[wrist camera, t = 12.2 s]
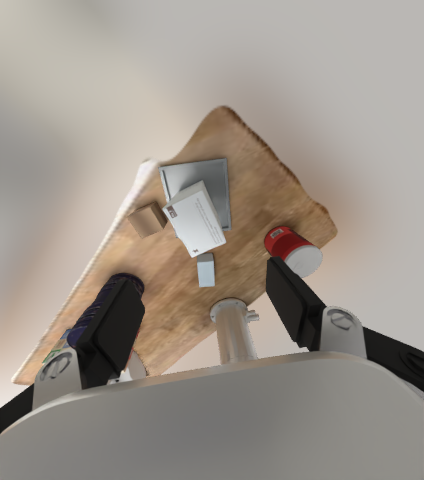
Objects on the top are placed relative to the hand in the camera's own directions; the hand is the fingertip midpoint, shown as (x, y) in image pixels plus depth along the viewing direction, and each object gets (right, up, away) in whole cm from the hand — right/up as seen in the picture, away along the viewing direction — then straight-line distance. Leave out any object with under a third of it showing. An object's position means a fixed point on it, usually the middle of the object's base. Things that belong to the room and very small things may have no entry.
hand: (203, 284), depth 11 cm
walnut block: (-13, +9, +24) cm, 28 cm away
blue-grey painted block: (-1, -4, +32) cm, 32 cm away
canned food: (+18, +3, +30) cm, 35 cm away
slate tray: (-2, +12, +23) cm, 26 cm away
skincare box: (-3, +11, +23) cm, 26 cm away
